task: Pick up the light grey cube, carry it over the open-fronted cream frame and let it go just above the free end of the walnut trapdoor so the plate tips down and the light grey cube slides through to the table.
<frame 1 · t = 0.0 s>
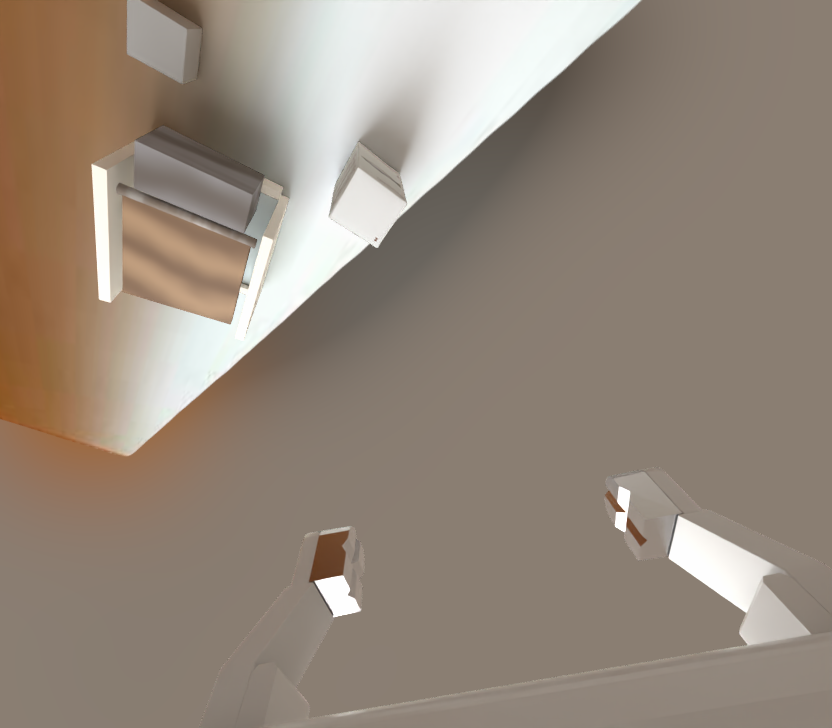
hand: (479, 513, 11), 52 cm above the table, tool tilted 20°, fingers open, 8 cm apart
supplement box: (366, 178, 51), on the table
frame: (215, 224, 53), on the table
trapdoor: (196, 236, 44), point 10 cm above the table, hinge at 0.0°
light grey cube: (175, 40, 38), on the table
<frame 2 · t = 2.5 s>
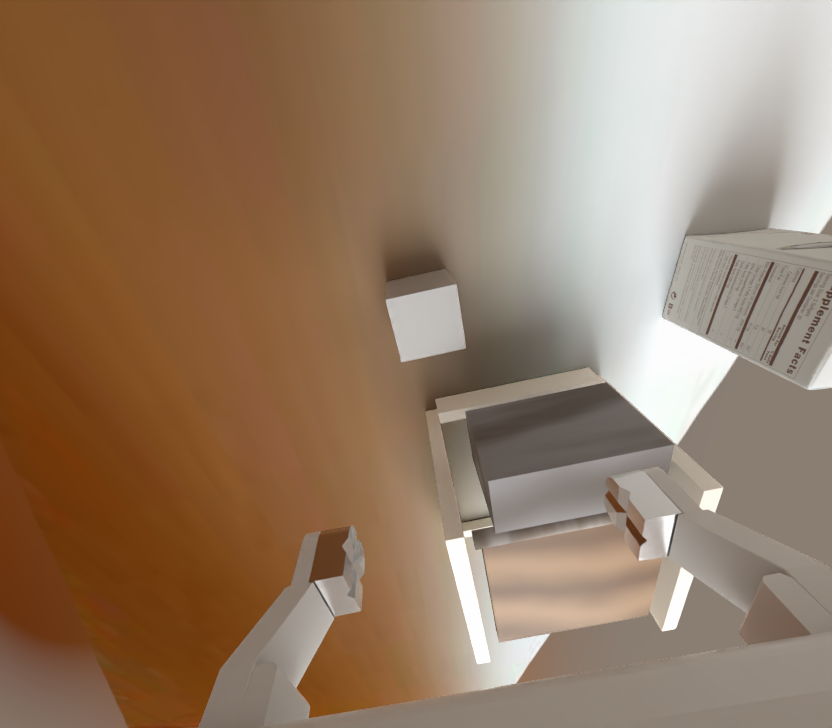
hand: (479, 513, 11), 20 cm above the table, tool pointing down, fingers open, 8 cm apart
supplement box: (709, 274, 29), on the table
frame: (517, 458, 38), on the table
trapdoor: (555, 520, 28), point 10 cm above the table, hinge at 0.0°
light grey cube: (421, 303, 29), on the table
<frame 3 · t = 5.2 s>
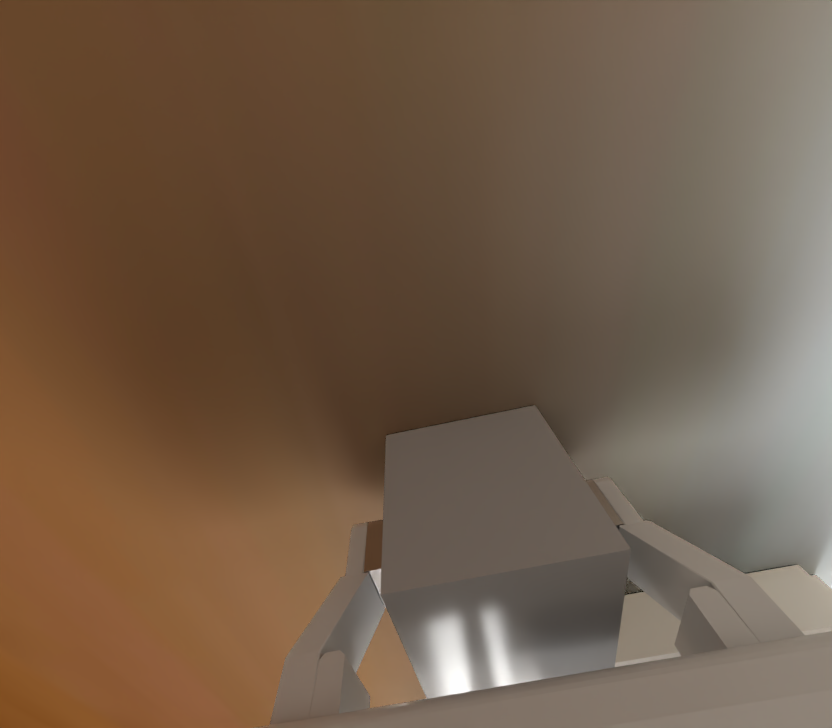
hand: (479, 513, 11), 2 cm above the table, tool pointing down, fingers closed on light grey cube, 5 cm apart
frame: (622, 684, 21), on the table
light grey cube: (469, 474, 12), on the table, touching gripper
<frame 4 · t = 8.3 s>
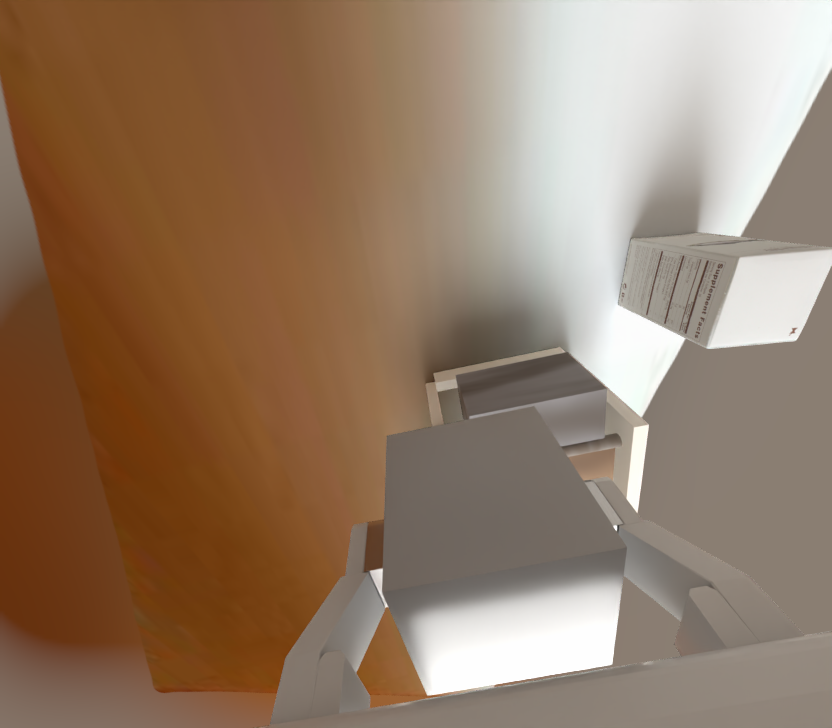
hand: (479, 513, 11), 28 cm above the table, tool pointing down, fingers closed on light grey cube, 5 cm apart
supplement box: (653, 269, 36), on the table
frame: (503, 428, 45), on the table
trapdoor: (529, 465, 34), point 10 cm above the table, hinge at 0.0°
light grey cube: (469, 474, 12), point 26 cm above the table, touching gripper
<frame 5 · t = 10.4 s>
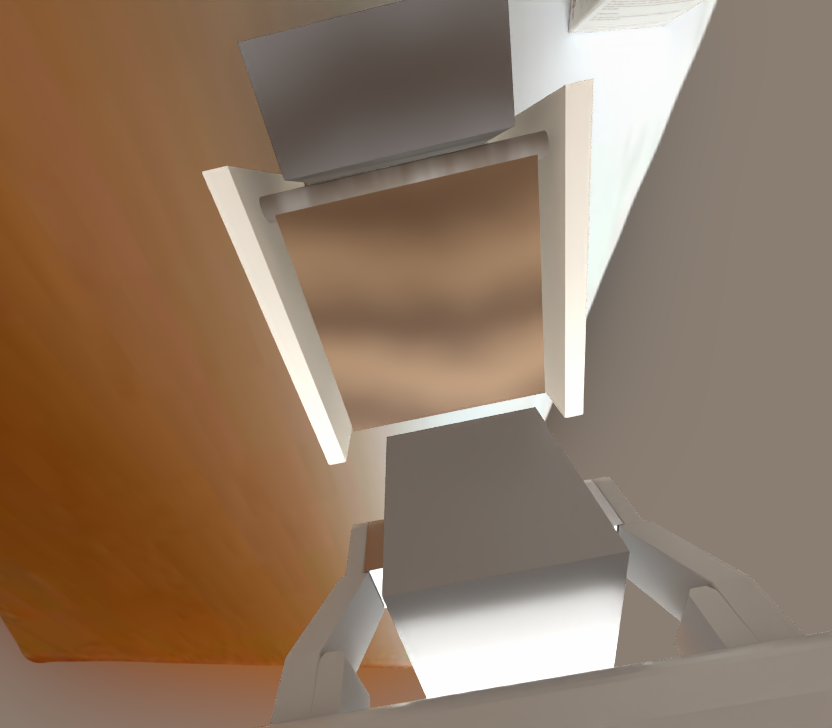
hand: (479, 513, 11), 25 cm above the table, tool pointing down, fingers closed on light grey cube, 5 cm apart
frame: (415, 267, 31), on the table
trapdoor: (415, 251, 21), point 10 cm above the table, hinge at 0.0°
light grey cube: (470, 476, 12), point 23 cm above the table, touching gripper
when the fingers open (18 cm above the table, at t = 11.5 s): light grey cube drops 9 cm and tips over, resting on trapdoor.
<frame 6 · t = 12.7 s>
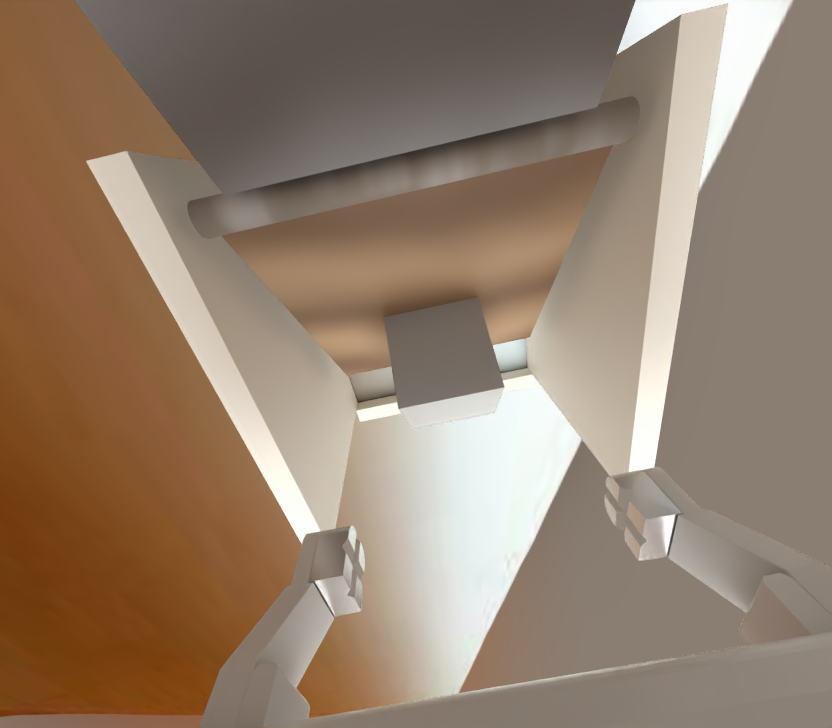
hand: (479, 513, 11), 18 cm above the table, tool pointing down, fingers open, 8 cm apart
frame: (421, 285, 26), on the table
trapdoor: (409, 205, 16), point 8 cm above the table, hinge at -40.4°, touching light grey cube
light grey cube: (433, 329, 20), point 7 cm above the table, tilted 40°, touching trapdoor
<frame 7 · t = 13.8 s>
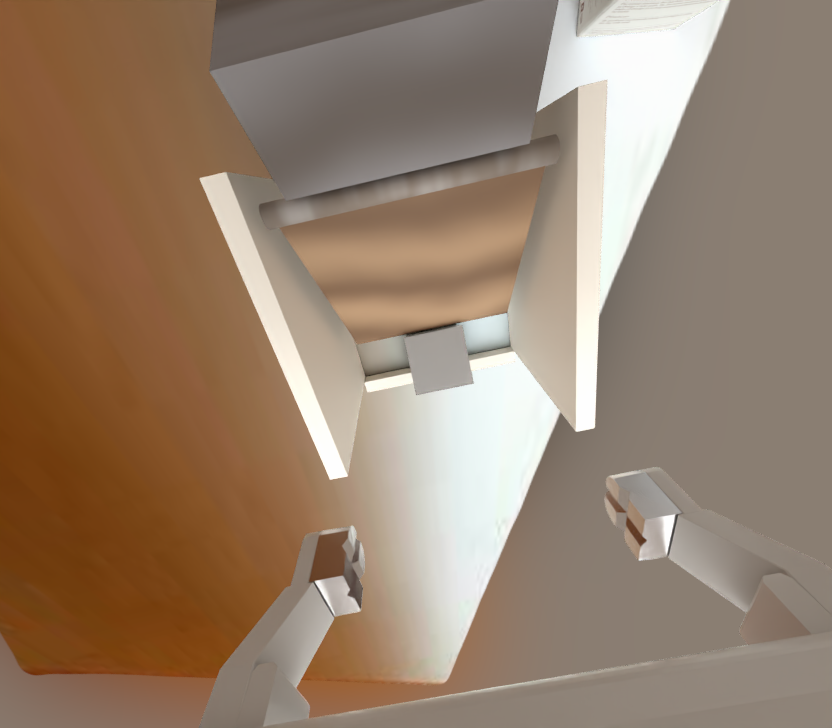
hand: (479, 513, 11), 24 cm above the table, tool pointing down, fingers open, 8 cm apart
frame: (420, 275, 31), on the table
trapdoor: (408, 205, 21), point 8 cm above the table, hinge at -41.7°
light grey cube: (438, 360, 28), point 6 cm above the table, tilted 161°, touching frame
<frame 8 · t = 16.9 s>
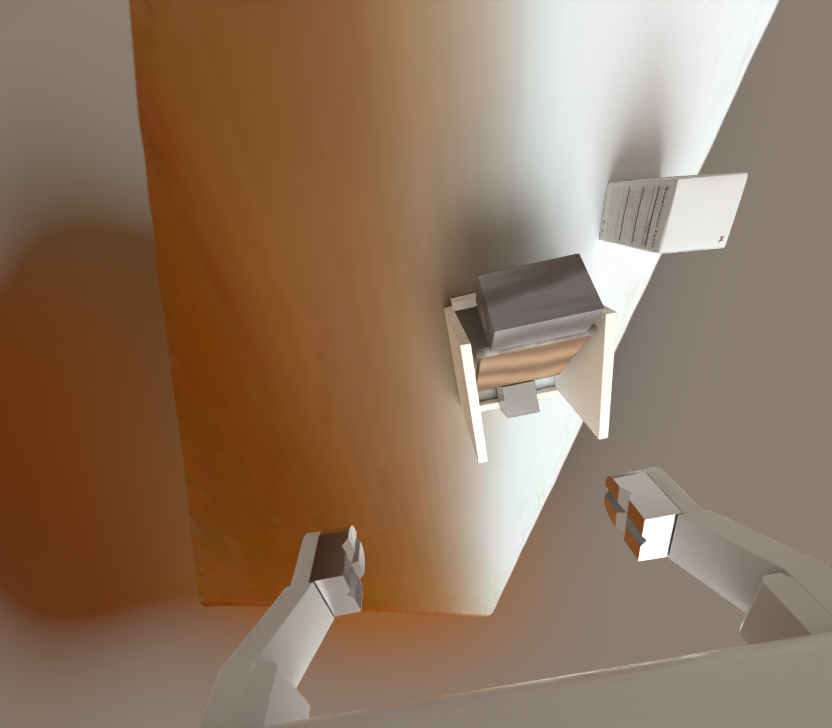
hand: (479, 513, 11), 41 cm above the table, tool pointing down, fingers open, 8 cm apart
supplement box: (626, 209, 46), on the table
frame: (506, 349, 54), on the table
trapdoor: (521, 335, 44), point 8 cm above the table, hinge at -40.3°, touching light grey cube
light grey cube: (521, 399, 52), point 6 cm above the table, tilted 161°, touching frame, trapdoor
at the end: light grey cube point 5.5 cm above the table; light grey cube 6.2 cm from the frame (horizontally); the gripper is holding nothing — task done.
